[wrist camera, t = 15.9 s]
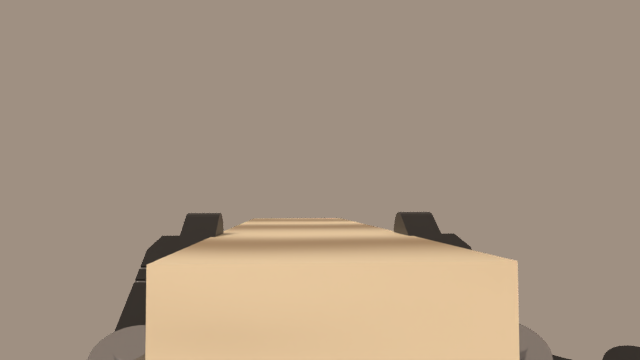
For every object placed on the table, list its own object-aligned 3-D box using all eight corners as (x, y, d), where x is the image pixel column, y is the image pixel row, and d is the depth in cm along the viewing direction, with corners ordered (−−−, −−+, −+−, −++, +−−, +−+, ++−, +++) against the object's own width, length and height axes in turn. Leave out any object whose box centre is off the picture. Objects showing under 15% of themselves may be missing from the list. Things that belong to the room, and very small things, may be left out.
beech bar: (524, 591, 6) (517, 260, 6) (141, 610, 5) (146, 264, 6) (340, 293, 25) (339, 218, 25) (253, 294, 24) (253, 218, 25)
